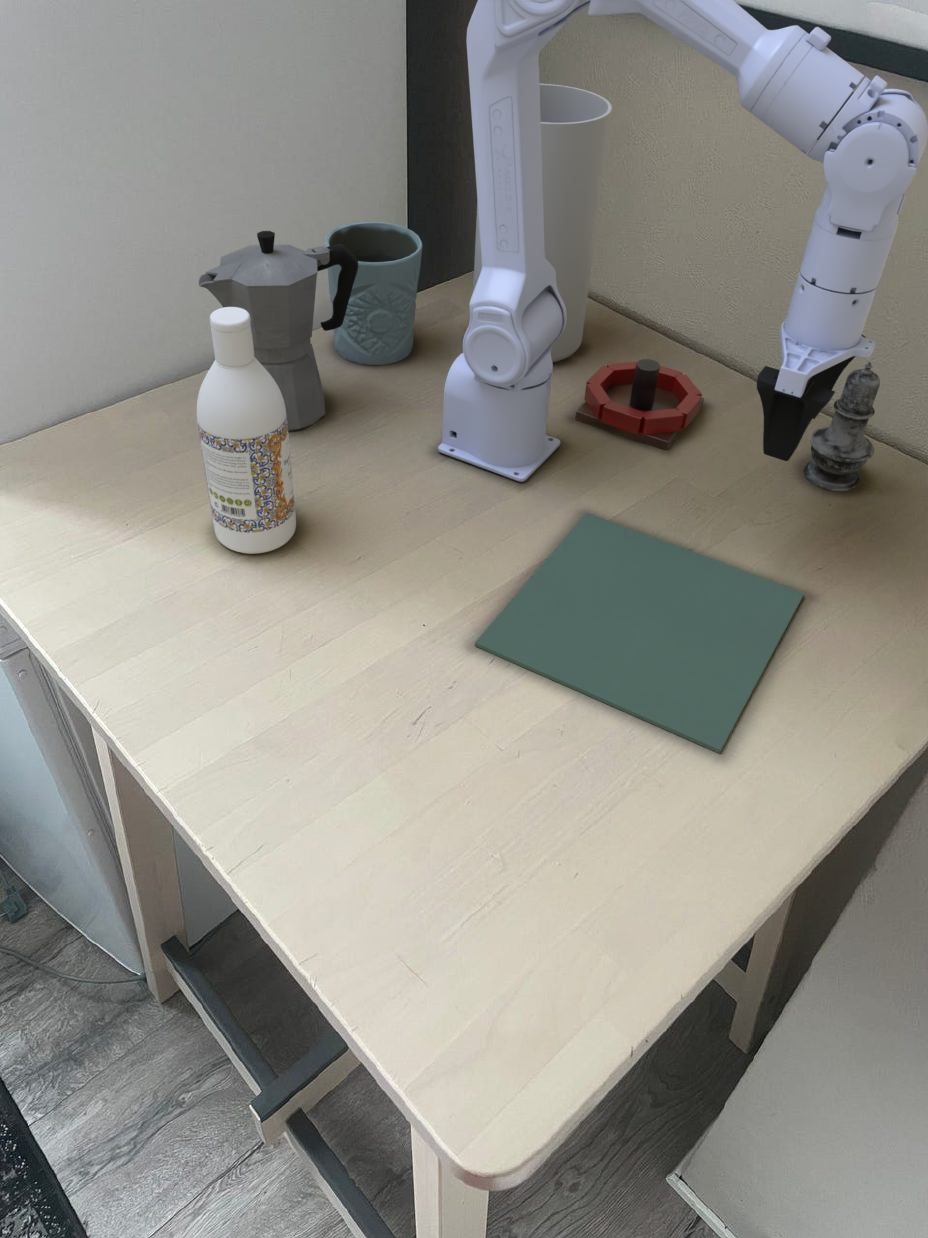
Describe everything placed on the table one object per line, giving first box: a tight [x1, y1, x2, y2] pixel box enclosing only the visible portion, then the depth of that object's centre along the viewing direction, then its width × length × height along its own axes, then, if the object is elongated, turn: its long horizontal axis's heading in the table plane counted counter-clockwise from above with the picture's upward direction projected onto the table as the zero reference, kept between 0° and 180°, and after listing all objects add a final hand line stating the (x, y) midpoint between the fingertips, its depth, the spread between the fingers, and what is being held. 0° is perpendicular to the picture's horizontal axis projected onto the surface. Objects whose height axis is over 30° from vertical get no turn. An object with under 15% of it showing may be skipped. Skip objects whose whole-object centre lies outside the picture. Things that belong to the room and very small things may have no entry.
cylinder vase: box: [472, 83, 613, 363], centre depth 108 cm, size 12×12×25 cm
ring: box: [583, 360, 703, 435], centre depth 104 cm, size 11×11×2 cm
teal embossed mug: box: [323, 221, 423, 366], centre depth 109 cm, size 10×10×12 cm
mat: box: [474, 512, 805, 754], centre depth 82 cm, size 20×20×1 cm
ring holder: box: [574, 358, 705, 451], centre depth 104 cm, size 10×10×6 cm
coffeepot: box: [198, 230, 358, 432], centre depth 98 cm, size 15×9×18 cm, turn 120°
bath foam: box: [196, 307, 297, 555], centre depth 82 cm, size 7×7×20 cm
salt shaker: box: [802, 361, 881, 492], centre depth 95 cm, size 6×6×12 cm
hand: (790, 434), depth 85 cm, fingers open, 7 cm apart
